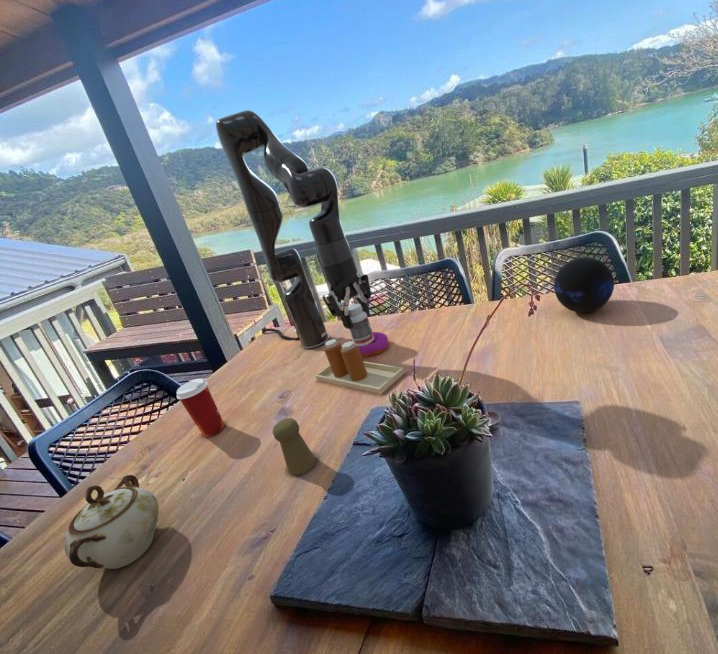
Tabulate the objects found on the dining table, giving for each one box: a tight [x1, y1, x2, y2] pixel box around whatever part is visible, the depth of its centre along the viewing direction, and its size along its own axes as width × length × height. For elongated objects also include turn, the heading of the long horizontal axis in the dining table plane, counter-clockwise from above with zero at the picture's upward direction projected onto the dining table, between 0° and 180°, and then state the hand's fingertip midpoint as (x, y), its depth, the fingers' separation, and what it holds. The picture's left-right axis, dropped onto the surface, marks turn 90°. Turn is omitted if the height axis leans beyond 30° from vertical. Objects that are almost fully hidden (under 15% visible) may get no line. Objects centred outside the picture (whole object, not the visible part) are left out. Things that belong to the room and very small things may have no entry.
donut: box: [358, 331, 389, 358], centre depth 133 cm, size 10×10×5 cm
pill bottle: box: [348, 303, 374, 346], centre depth 109 cm, size 5×5×10 cm
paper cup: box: [176, 378, 225, 438], centre depth 112 cm, size 8×8×14 cm
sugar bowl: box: [63, 474, 160, 570], centre depth 79 cm, size 20×15×15 cm
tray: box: [314, 360, 406, 395], centre depth 119 cm, size 25×10×2 cm, turn 52°
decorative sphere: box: [553, 256, 615, 314], centre depth 118 cm, size 15×15×15 cm
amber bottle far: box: [323, 338, 348, 378], centre depth 122 cm, size 5×5×10 cm
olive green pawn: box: [272, 417, 317, 476], centre depth 89 cm, size 6×6×11 cm
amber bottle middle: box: [341, 340, 367, 381], centre depth 117 cm, size 5×5×10 cm
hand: (357, 322), depth 108 cm, fingers closed on pill bottle, 5 cm apart
